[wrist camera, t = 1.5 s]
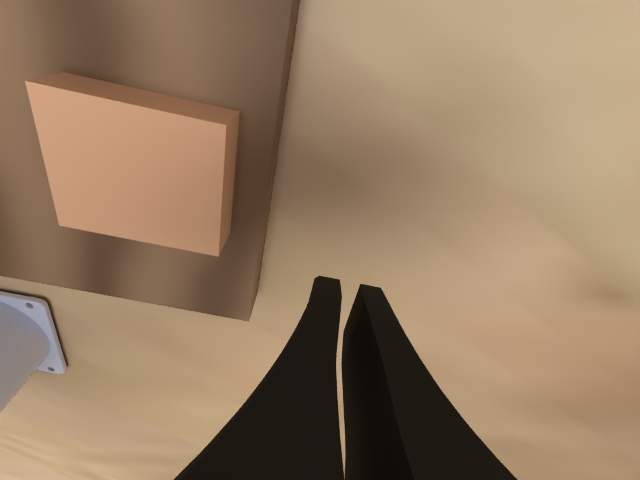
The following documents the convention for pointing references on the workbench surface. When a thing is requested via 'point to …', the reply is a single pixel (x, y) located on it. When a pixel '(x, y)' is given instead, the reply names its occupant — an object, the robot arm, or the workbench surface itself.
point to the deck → (160, 77)
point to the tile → (136, 161)
